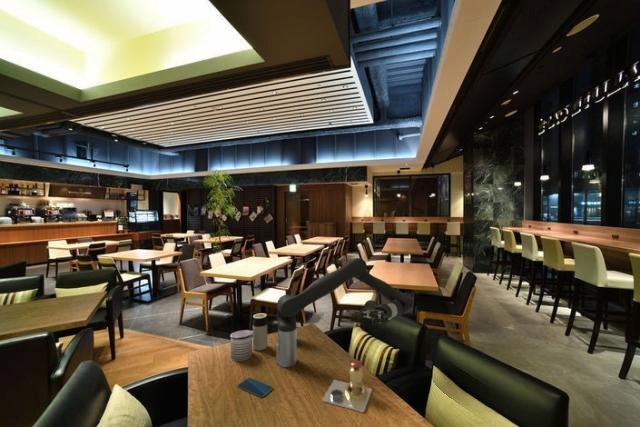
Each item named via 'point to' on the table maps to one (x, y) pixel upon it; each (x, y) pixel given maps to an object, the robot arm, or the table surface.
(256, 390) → the smartphone
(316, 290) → the robot arm
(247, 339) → the can
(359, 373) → the brass valve
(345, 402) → the fitting plate
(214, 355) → the table surface
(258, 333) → the travel mug
